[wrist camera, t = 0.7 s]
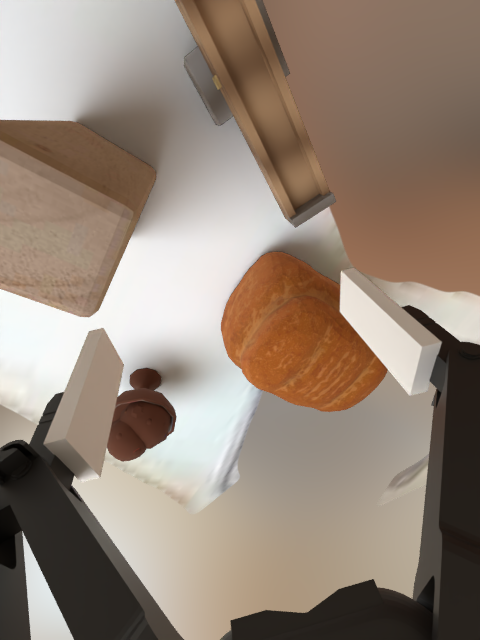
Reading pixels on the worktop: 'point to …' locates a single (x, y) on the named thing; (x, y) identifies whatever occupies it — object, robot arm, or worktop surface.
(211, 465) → the worktop surface
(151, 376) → the ice cream bowl
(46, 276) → the wooden block
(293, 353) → the bread
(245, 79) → the beam
